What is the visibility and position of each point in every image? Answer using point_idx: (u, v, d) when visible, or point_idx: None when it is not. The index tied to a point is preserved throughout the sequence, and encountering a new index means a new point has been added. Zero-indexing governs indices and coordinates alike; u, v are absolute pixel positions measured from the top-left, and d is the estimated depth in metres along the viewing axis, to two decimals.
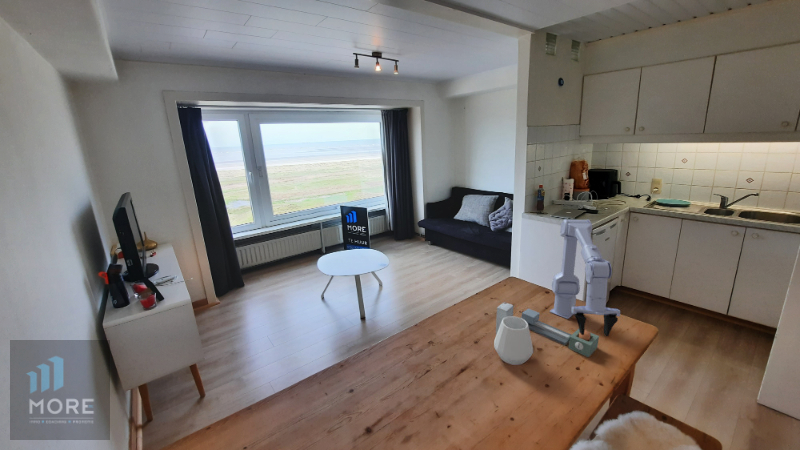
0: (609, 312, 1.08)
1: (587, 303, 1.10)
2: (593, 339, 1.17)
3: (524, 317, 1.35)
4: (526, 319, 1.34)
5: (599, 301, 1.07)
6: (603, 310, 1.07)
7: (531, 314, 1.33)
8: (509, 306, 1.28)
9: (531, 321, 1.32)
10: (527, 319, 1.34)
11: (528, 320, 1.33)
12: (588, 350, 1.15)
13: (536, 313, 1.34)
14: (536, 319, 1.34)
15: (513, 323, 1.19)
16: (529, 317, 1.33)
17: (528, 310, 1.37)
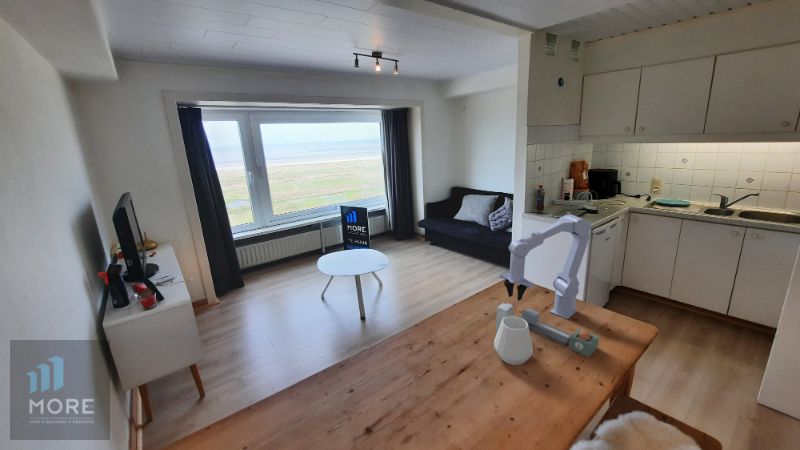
0: (521, 283, 1.33)
1: None
2: (593, 339, 1.17)
3: (524, 317, 1.35)
4: (526, 319, 1.34)
5: (513, 272, 1.34)
6: (515, 280, 1.34)
7: (531, 314, 1.33)
8: (509, 306, 1.28)
9: (531, 321, 1.32)
10: (527, 319, 1.34)
11: (528, 320, 1.33)
12: (588, 350, 1.15)
13: (536, 313, 1.34)
14: (536, 319, 1.34)
15: (513, 323, 1.19)
16: (529, 317, 1.33)
17: (528, 310, 1.37)
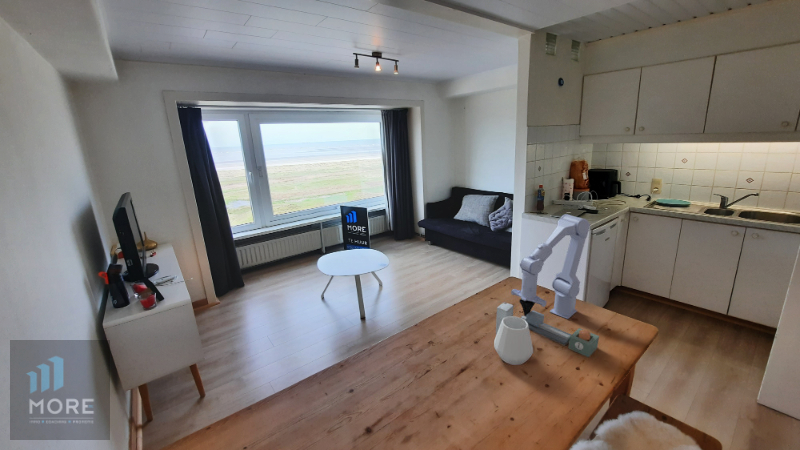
0: (534, 301, 1.30)
1: None
2: (593, 339, 1.17)
3: (529, 319, 1.33)
4: (531, 321, 1.32)
5: (525, 289, 1.31)
6: (528, 298, 1.31)
7: (536, 316, 1.32)
8: (509, 306, 1.28)
9: (536, 323, 1.31)
10: (532, 321, 1.32)
11: (533, 322, 1.32)
12: (588, 350, 1.15)
13: (541, 315, 1.33)
14: (541, 321, 1.32)
15: (513, 323, 1.19)
16: (534, 319, 1.31)
17: (532, 312, 1.35)
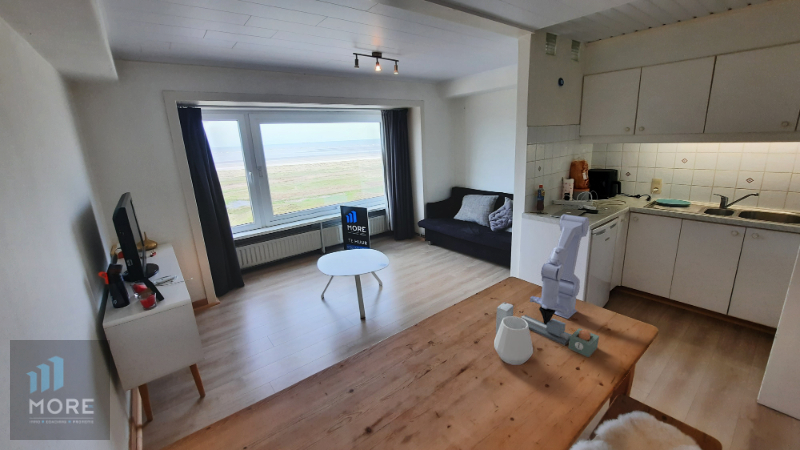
0: (555, 309, 1.24)
1: None
2: (593, 339, 1.17)
3: (549, 328, 1.27)
4: (552, 330, 1.26)
5: (545, 297, 1.25)
6: (548, 305, 1.25)
7: (557, 325, 1.25)
8: (509, 306, 1.28)
9: (557, 332, 1.25)
10: (552, 330, 1.26)
11: (554, 331, 1.26)
12: (588, 350, 1.15)
13: (562, 324, 1.26)
14: (562, 330, 1.26)
15: (513, 323, 1.19)
16: (555, 328, 1.25)
17: (553, 320, 1.29)
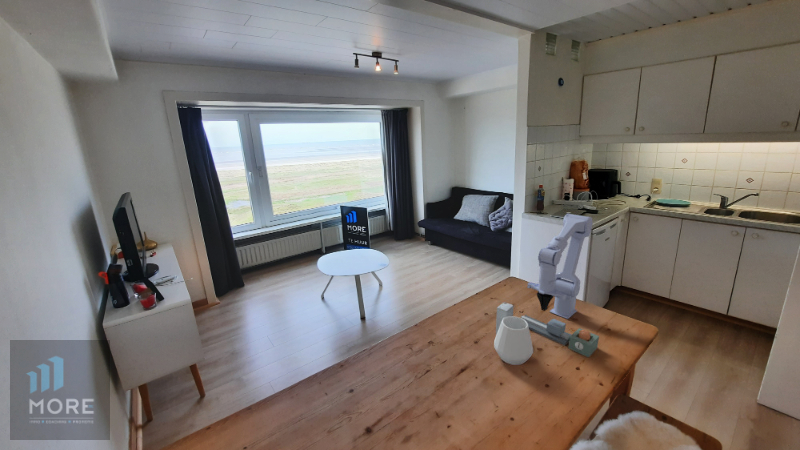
0: (552, 294, 1.23)
1: None
2: (593, 339, 1.17)
3: (549, 328, 1.27)
4: (552, 330, 1.26)
5: (543, 282, 1.24)
6: (546, 291, 1.25)
7: (557, 325, 1.25)
8: (509, 306, 1.28)
9: (557, 332, 1.24)
10: (553, 330, 1.26)
11: (554, 331, 1.25)
12: (588, 350, 1.15)
13: (562, 324, 1.26)
14: (562, 330, 1.26)
15: (513, 323, 1.19)
16: (555, 328, 1.25)
17: (553, 320, 1.29)
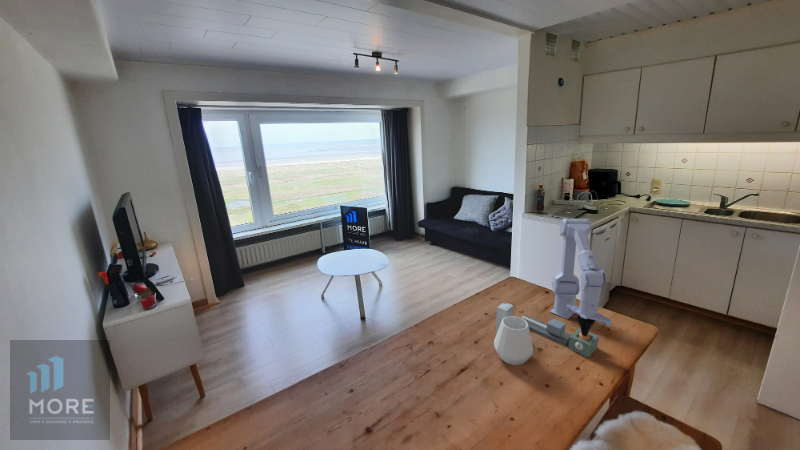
0: (596, 319, 1.13)
1: None
2: (593, 339, 1.17)
3: (549, 328, 1.27)
4: (552, 330, 1.26)
5: (585, 306, 1.14)
6: (589, 315, 1.14)
7: (557, 325, 1.25)
8: (509, 306, 1.28)
9: (557, 332, 1.24)
10: (553, 330, 1.26)
11: (554, 331, 1.25)
12: (588, 350, 1.15)
13: (562, 324, 1.26)
14: (562, 330, 1.26)
15: (513, 323, 1.19)
16: (555, 328, 1.25)
17: (553, 320, 1.29)
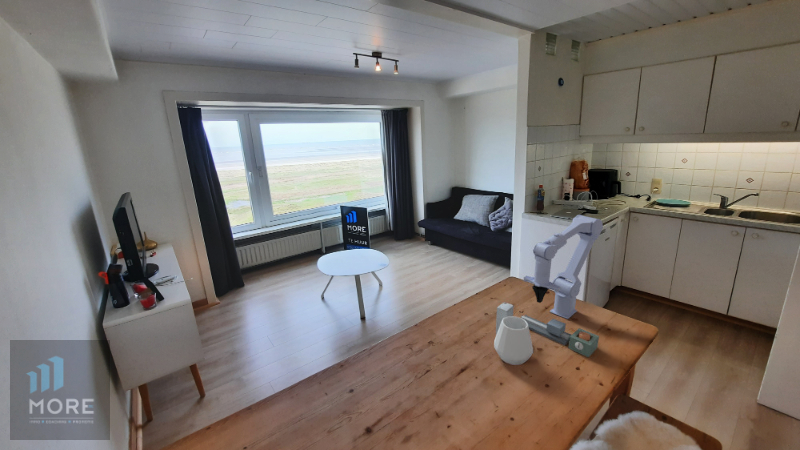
0: (547, 286, 1.29)
1: None
2: (593, 339, 1.17)
3: (549, 328, 1.27)
4: (552, 330, 1.26)
5: (538, 275, 1.30)
6: (541, 283, 1.30)
7: (557, 325, 1.25)
8: (509, 306, 1.28)
9: (557, 332, 1.24)
10: (553, 330, 1.26)
11: (554, 331, 1.25)
12: (588, 350, 1.15)
13: (562, 324, 1.26)
14: (562, 330, 1.26)
15: (513, 323, 1.19)
16: (555, 328, 1.25)
17: (553, 320, 1.29)
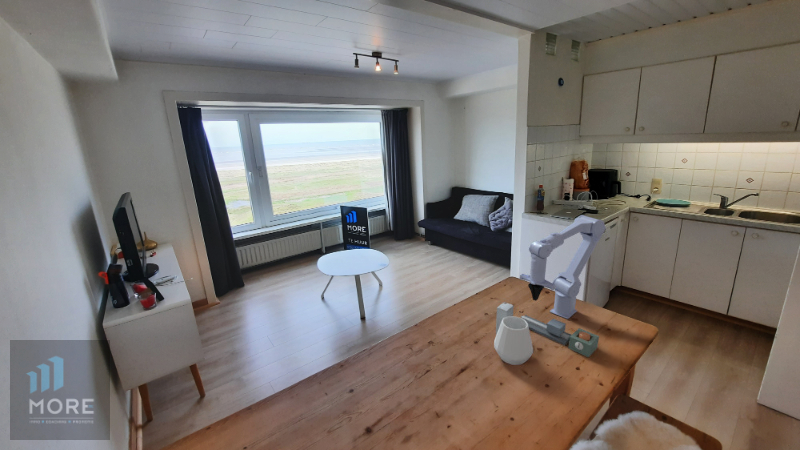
0: (543, 284, 1.31)
1: None
2: (593, 339, 1.17)
3: (549, 328, 1.27)
4: (552, 330, 1.26)
5: (534, 273, 1.32)
6: (537, 281, 1.32)
7: (557, 325, 1.25)
8: (509, 306, 1.28)
9: (557, 332, 1.24)
10: (553, 330, 1.26)
11: (554, 331, 1.25)
12: (588, 350, 1.15)
13: (562, 324, 1.26)
14: (562, 330, 1.26)
15: (513, 323, 1.19)
16: (555, 328, 1.25)
17: (553, 320, 1.29)
